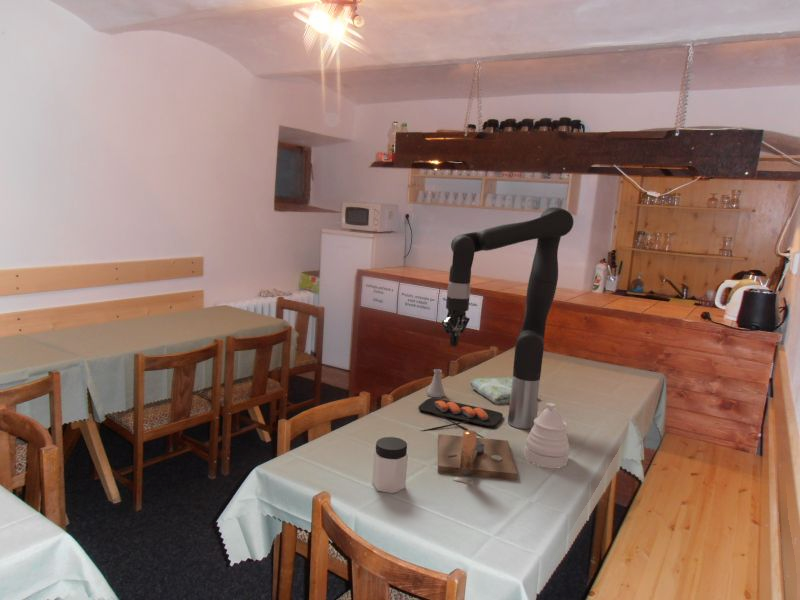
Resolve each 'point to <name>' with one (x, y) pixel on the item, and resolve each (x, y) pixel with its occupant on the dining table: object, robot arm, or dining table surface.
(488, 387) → the towel
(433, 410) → the sushi plate
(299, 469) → the dining table surface
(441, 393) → the flask
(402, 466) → the jar
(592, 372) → the dining table surface
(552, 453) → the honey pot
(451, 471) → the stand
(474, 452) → the lever
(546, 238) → the robot arm
